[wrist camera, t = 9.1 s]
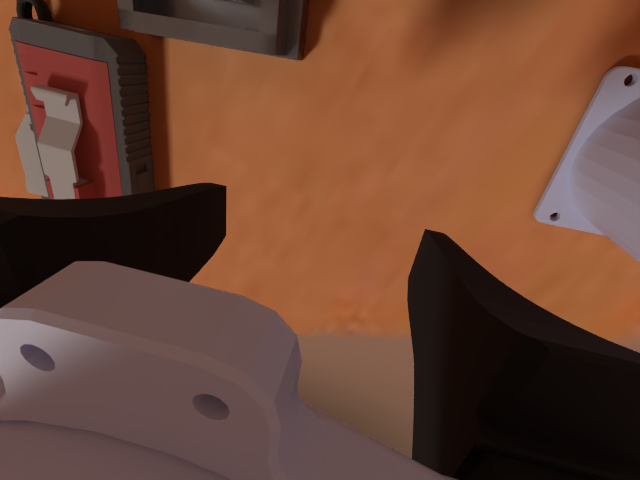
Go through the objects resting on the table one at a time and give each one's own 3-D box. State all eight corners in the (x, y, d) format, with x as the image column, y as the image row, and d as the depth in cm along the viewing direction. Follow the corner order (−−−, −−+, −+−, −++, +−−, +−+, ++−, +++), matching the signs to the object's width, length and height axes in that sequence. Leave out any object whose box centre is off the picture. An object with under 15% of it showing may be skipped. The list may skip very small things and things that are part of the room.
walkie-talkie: (12, -12, 19) (73, 265, 29) (-82, -30, 16) (25, 295, 25) (151, 20, 19) (165, 292, 29) (89, 9, 15) (130, 327, 25)
